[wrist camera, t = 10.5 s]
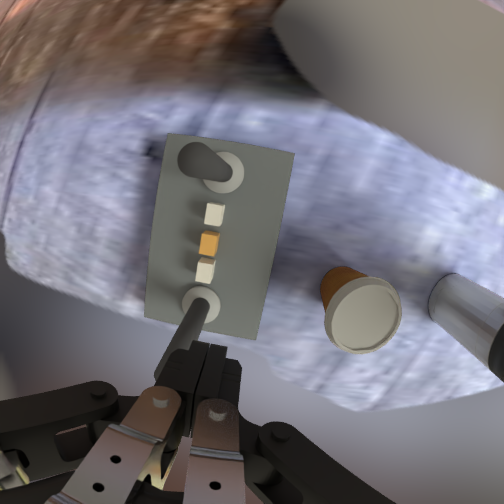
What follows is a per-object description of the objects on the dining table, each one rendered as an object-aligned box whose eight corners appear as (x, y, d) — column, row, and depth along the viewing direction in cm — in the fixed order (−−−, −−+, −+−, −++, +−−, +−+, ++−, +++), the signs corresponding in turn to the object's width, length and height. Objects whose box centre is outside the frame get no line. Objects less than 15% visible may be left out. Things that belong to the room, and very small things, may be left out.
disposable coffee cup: (296, 298, 43) (309, 337, 31) (333, 242, 41) (361, 264, 29) (346, 326, 44) (371, 368, 32) (382, 275, 42) (419, 304, 30)
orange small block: (219, 233, 36) (217, 236, 34) (216, 251, 37) (213, 256, 34) (205, 230, 36) (201, 233, 34) (202, 249, 37) (198, 253, 34)
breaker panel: (291, 156, 38) (297, 150, 32) (256, 327, 44) (255, 349, 37) (176, 138, 38) (161, 129, 32) (152, 306, 43) (137, 324, 37)
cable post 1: (247, 156, 35) (239, 128, 18) (240, 196, 36) (225, 203, 19) (207, 150, 35) (166, 119, 18) (200, 189, 36) (153, 191, 19)
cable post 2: (223, 289, 38) (200, 360, 22) (217, 323, 39) (194, 405, 23) (186, 281, 38) (139, 346, 22) (181, 316, 39) (139, 391, 23)
